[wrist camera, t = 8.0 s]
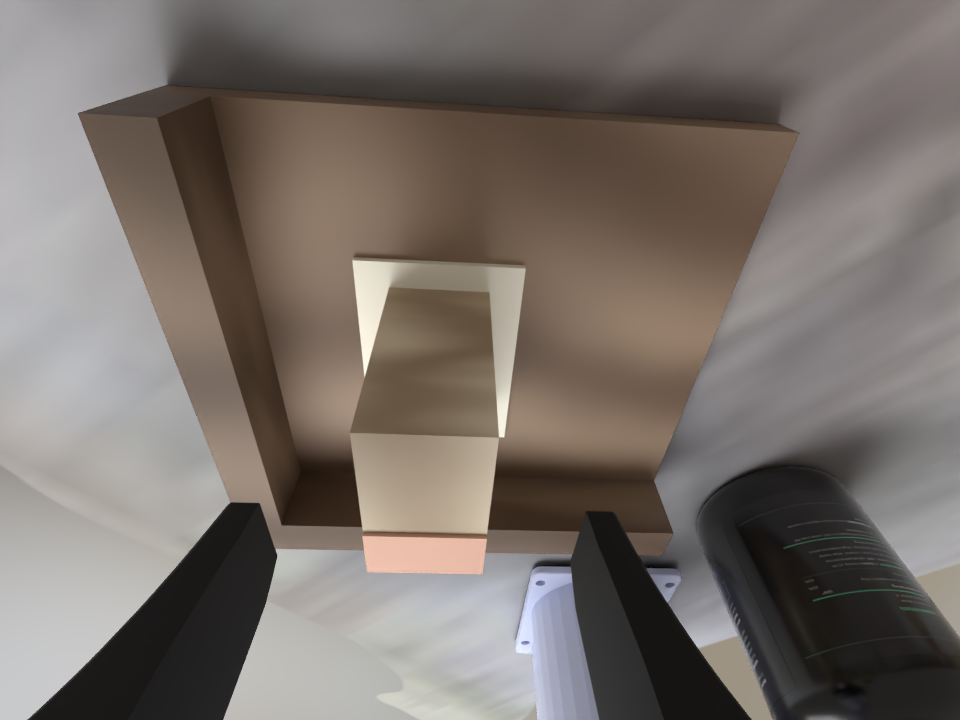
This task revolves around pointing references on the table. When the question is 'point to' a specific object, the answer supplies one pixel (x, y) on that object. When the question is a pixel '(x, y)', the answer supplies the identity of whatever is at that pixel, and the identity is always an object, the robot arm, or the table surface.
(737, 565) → the supplement bottle
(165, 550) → the table surface
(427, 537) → the maple block
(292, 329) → the corner board
